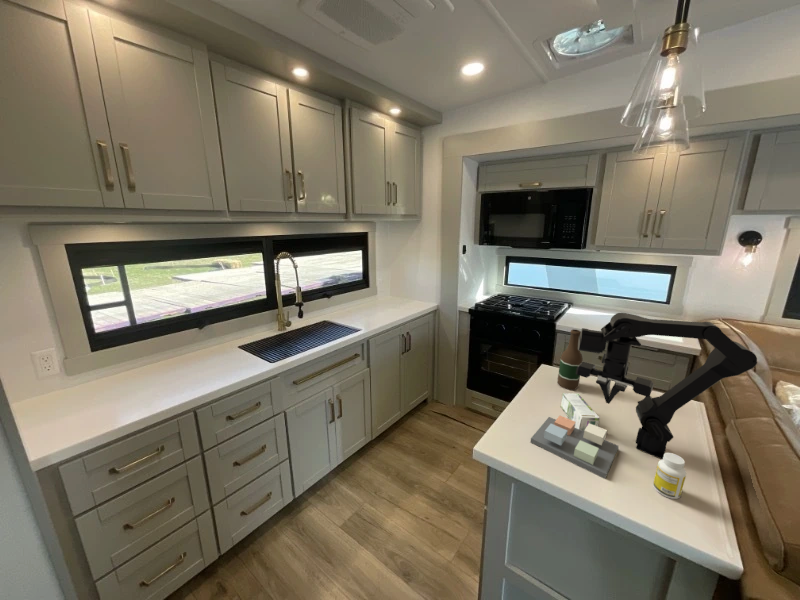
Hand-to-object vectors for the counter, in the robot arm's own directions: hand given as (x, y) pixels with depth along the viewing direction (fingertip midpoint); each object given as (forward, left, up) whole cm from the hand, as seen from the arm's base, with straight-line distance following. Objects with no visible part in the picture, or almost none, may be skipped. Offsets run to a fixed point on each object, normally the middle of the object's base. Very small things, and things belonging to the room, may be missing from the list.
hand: (607, 402), depth 97 cm
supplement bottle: (-17, +12, -12) cm, 24 cm away
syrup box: (+13, -10, -9) cm, 19 cm away
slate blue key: (+9, +15, -9) cm, 20 cm away
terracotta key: (+9, +7, -10) cm, 15 cm away
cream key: (+1, +7, -9) cm, 11 cm away
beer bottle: (+18, -26, -12) cm, 34 cm away
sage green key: (+1, +15, -10) cm, 18 cm away
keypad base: (+5, +11, -12) cm, 17 cm away
